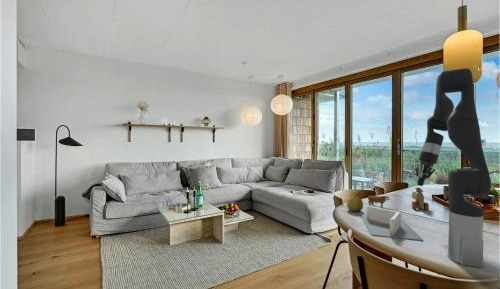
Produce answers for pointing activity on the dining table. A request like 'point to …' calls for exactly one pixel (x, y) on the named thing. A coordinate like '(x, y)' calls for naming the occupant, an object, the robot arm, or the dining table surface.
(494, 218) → the dining table surface
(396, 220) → the fence fixed
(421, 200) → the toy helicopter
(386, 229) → the card
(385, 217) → the fence gate
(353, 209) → the fruit
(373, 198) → the bull figurine
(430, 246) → the dining table surface
